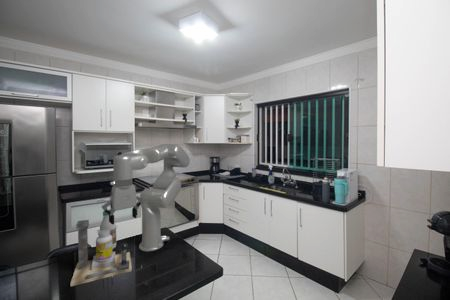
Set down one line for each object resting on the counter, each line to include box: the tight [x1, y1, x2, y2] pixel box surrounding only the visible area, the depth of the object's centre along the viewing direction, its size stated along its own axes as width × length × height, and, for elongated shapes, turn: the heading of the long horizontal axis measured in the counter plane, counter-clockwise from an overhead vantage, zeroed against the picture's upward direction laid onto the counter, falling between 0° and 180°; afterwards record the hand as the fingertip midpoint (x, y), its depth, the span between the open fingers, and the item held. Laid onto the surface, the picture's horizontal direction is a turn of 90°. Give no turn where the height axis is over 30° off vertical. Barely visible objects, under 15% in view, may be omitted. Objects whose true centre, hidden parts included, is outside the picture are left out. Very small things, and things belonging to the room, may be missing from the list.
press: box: [70, 219, 133, 287], centre depth 92 cm, size 22×15×22 cm
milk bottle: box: [99, 210, 117, 250], centre depth 110 cm, size 8×8×20 cm
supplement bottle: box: [95, 229, 114, 262], centre depth 95 cm, size 7×7×13 cm
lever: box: [119, 242, 129, 269], centre depth 90 cm, size 4×3×10 cm
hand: (123, 220), depth 93 cm, fingers open, 9 cm apart
